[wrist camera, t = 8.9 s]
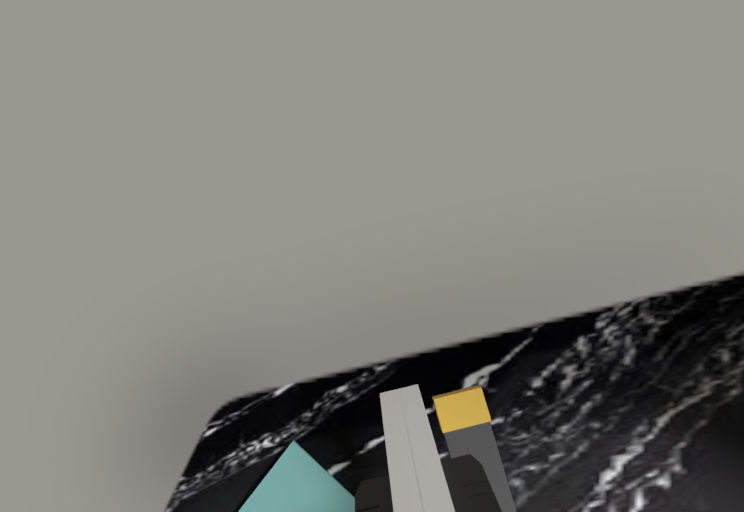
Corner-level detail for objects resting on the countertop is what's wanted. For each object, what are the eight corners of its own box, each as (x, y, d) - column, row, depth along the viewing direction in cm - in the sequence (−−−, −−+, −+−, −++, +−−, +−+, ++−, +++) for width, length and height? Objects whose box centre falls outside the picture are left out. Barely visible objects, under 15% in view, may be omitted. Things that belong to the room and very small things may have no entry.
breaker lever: (557, 611, 22) (489, 385, 25) (485, 628, 22) (425, 401, 25) (548, 594, 24) (484, 383, 27) (480, 611, 24) (424, 398, 27)
